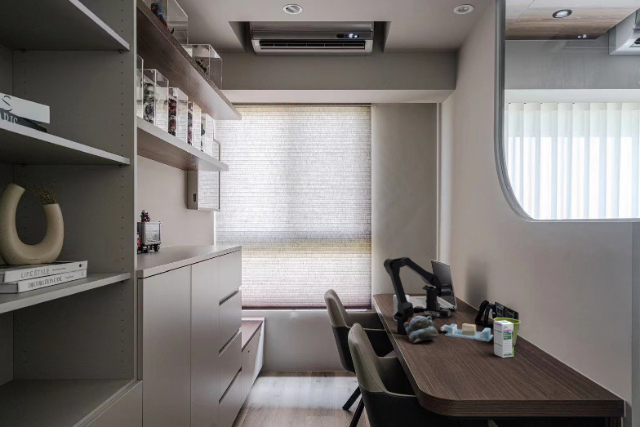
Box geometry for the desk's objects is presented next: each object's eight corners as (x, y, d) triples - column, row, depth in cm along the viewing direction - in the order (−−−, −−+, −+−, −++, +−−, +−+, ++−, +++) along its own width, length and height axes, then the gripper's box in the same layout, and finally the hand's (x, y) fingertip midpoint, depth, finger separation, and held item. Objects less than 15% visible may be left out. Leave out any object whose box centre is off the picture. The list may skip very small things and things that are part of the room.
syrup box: (502, 358, 178) (502, 323, 179) (493, 353, 184) (493, 320, 184) (514, 357, 180) (514, 322, 180) (504, 352, 186) (504, 319, 186)
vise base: (489, 341, 203) (489, 333, 203) (445, 335, 214) (445, 327, 214) (493, 335, 213) (493, 327, 213) (450, 330, 224) (450, 322, 224)
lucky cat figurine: (407, 344, 198) (399, 315, 205) (410, 347, 208) (403, 320, 215) (438, 337, 195) (430, 307, 201) (441, 341, 205) (432, 313, 212)
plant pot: (524, 348, 192) (523, 323, 192) (496, 347, 194) (496, 322, 194) (517, 341, 203) (517, 318, 204) (491, 339, 206) (491, 316, 206)
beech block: (474, 336, 210) (474, 326, 210) (462, 334, 213) (462, 324, 213) (476, 334, 214) (475, 324, 214) (463, 332, 217) (463, 323, 217)
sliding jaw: (452, 334, 213) (452, 327, 213) (440, 333, 216) (440, 326, 216) (456, 330, 221) (456, 324, 221) (445, 329, 224) (445, 322, 224)
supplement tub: (413, 320, 245) (413, 295, 245) (403, 323, 239) (403, 297, 239) (399, 318, 252) (399, 293, 252) (389, 320, 246) (389, 295, 246)
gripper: (453, 297, 226) (453, 326, 225) (419, 294, 235) (419, 322, 235) (447, 300, 216) (448, 331, 216) (412, 297, 226) (412, 326, 225)
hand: (431, 327), depth 223 cm, fingers closed
